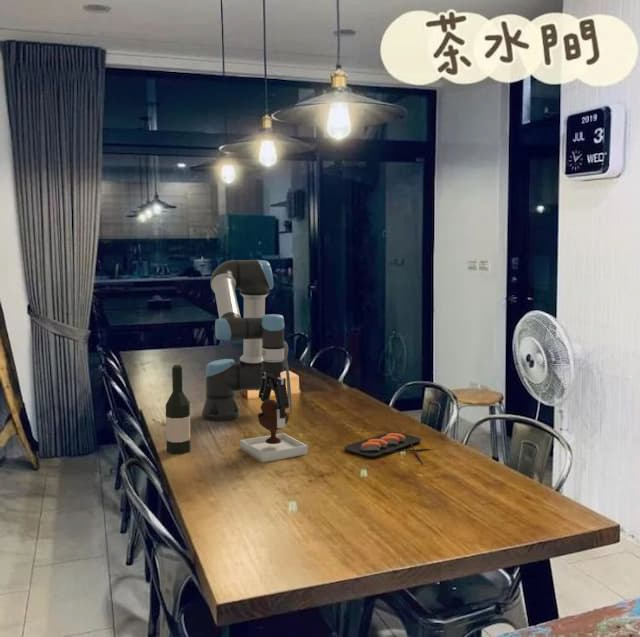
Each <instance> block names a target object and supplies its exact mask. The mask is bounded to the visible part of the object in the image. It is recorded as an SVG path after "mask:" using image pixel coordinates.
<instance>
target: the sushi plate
mask: <svg viewBox="0 0 640 637" xmlns="http://www.w3.org/2000/svg"><path fill="white" fill-rule="evenodd" d="M421 441H422V438H420V437H417V436H413V435H411V434H410V435H409V434H406V433H403V432H398V431H390V432H389V431H388V432H386V433H382V434H379V435H376V436H372V437H370V438H366V439H363V440H360V441H357V442H353V443H351V444H347V445H345V446H344V447H343V449H344V450H345V451H347V452H350V453H353V454H357V455H361V456H364V457H370V458H373V457H375V458H376V457H378V456H383V455H385V454H388V453H401V452H402V453H403V452H414V454H415V455H416V457H417V459H419V460H418V461H419V463H420V462H421V463H422V464H424V463H423V460H422V459H421V458H420V455H419V454H418V453H417V452H421V451H420V450H425V451H427V450H426V449H427V448H418V449H417V448H416V449H415V448H414V446H413V445H414V444H416V443H419V442H421ZM408 446H410V447H411V448H412V449H403V448H405V447H408ZM399 449H402V450H399ZM421 463H420V464H421ZM422 464H421V465H422Z"/></svg>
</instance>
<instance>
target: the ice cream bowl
mask: <svg viewBox="0 0 640 637" xmlns="http://www.w3.org/2000/svg"><path fill="white" fill-rule="evenodd" d="M277 407H278V405H277V401H276V399H271V398H270V399H269V400H266V401H264V402H263V403H262V402H261V405H260V410H261V412H260V413H257V419H258V422H259V425H261V427H262V428H264V429H266V430H268V431H270V435H271V437H270V438H268V439H266V443H268V444H278V443H281V439H279V438H277V437H276V434H277V431H279V430H281V429H282V428H277V409H276V408H277ZM289 417H290V414H289V413H288V412H286V411H285V426H286V425H287V423H288V422H289Z"/></svg>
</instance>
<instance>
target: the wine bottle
mask: <svg viewBox="0 0 640 637" xmlns="http://www.w3.org/2000/svg"><path fill="white" fill-rule="evenodd" d="M171 377H172V378H171V379H172V380H171V382H172V383H171V384H172V391H171V392H172V393H171V395H170V396H169V398H168V399H167V402H166V403H165V426H166V427H165V429H166V430H165V433H166V435H165V436H166V453H168V454H170V455H184V454H188V453H190V451H191V447H192V446H191V445H192V444H191V406H190V405H191V402H190V400H189V399H188V397H187V396H186V394H185V393H184V391H183V367H182V366H181V364H174V365H173V367H172V368H171Z"/></svg>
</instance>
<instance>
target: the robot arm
mask: <svg viewBox="0 0 640 637" xmlns="http://www.w3.org/2000/svg"><path fill="white" fill-rule="evenodd" d="M210 287H211V290H212V292H213V293H214V294H215V296H214V297H215V301H216V306H217V313H218V318H216V319H215V322H214V324H215V325H214V327H215V328H214V332H215V333H214V334H215V338H216V339H217V340H218V341H236V340H237V341H239V340H242V341H243V348H242V350H243V351H242V352H243V354H242V355H241V356H239V362H235V360H234V359H232V358H224V359H223V358H222V359H216V360H213V361H210V362H209V363H207V364H206V367H205V375H204V376H205V402H204V405H203V407H202V411H201V418H202V419H203V420H206V421H209V422H210V421H212V422H224V421H225V422H227V421H233V420H235V419H238V418H239V417H240V410H239V407H238V403H237V401H236V397H235V396H236V395H235V392H244V391H258V399H260V401H261V404H262V403H263V402H264V401H266V400H269V399H271V394H272V392H273V394H274V398H275V401H276V402H277V405H278V407H277V408H276V409H277V428H281V429H283V428H286V425H285V412H286V409H288V408H289V409H290V407H289V403H288V396H287V378H286V377H284V378H283V377H282V376H281V375H282V374H281V373H284V372H285V367H284V361H283V359H284V341H285V327H286V326H285V325H286V324H285V318H284V315H282V314H278V313H277V314H275V313H272V314H265V313H266V312H265V311H266V297H268V295H270V294H269V293H270V292H269V291H270V290H272V289H274V277H273V271H272V267H271V264H270V262H269V261H267V260H262V259H261V260H260V259H245V260H244V259H231V260H227V261H225V262H222V263H221V264H220V265H218V266H217V267H216V268H215V269H214V270H213V272H212V274H211V277H210ZM237 290H239V294H240V295H241V297H243V317H241V313H240V308H239V303H238V300H237V294H236V291H237ZM269 396H270V398H269Z"/></svg>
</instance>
